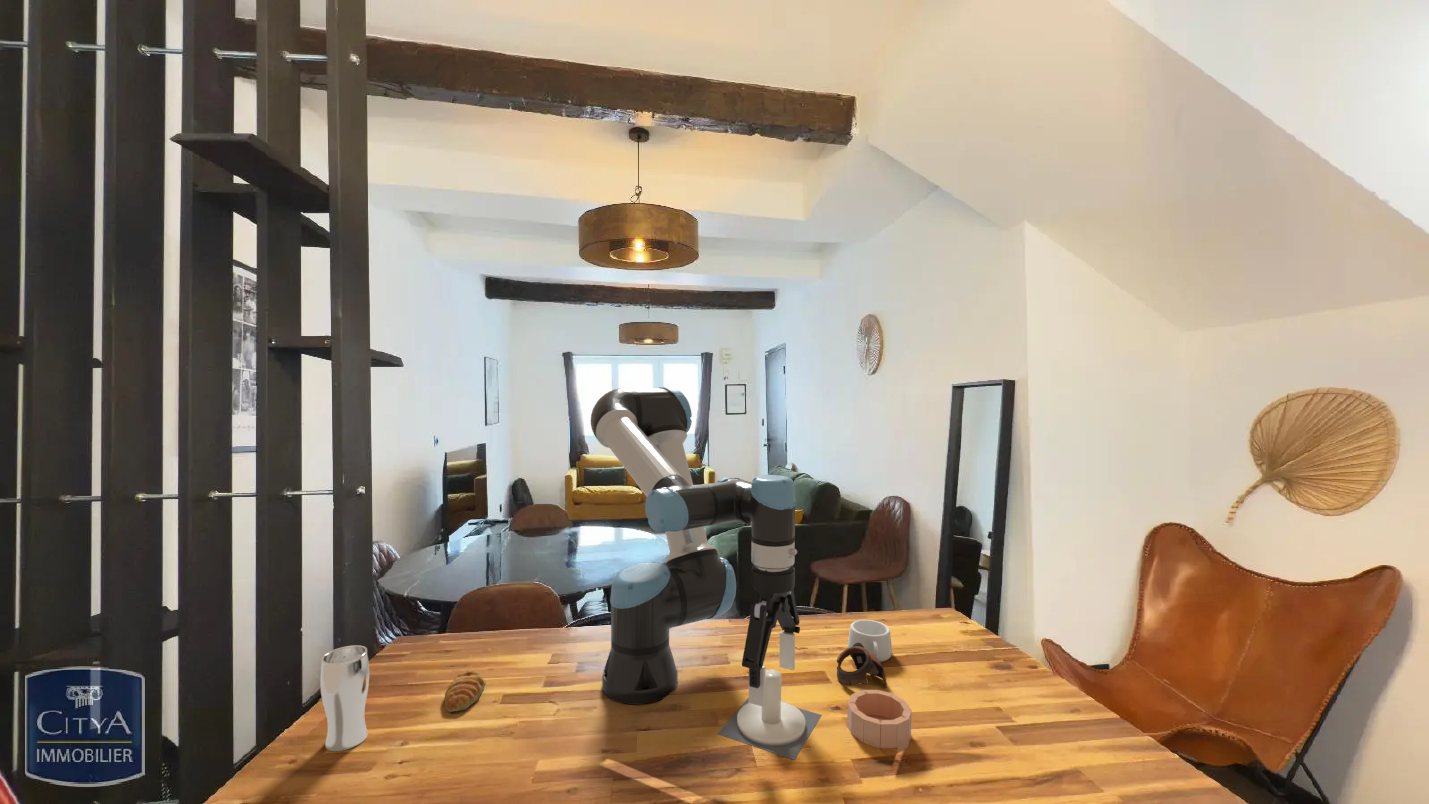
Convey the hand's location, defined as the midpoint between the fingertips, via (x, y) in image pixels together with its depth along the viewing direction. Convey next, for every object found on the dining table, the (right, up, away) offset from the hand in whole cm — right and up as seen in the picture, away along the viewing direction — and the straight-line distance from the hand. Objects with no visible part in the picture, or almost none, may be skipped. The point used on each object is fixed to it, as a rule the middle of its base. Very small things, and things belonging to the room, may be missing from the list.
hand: (772, 685), depth 101 cm
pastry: (-59, -8, +10) cm, 60 cm away
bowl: (+18, -8, 0) cm, 20 cm away
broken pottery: (+20, -8, +17) cm, 27 cm away
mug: (+25, -8, +28) cm, 38 cm away
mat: (0, -8, +1) cm, 8 cm away
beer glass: (-73, -8, -3) cm, 73 cm away
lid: (0, -7, +1) cm, 7 cm away
